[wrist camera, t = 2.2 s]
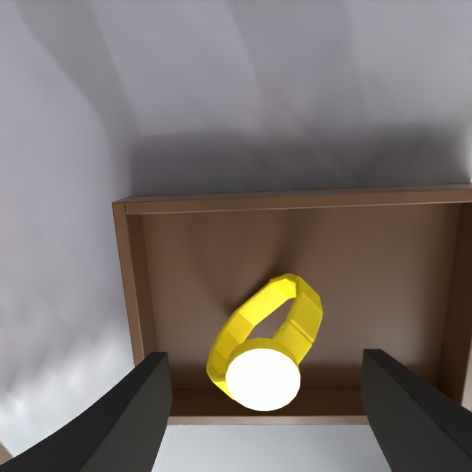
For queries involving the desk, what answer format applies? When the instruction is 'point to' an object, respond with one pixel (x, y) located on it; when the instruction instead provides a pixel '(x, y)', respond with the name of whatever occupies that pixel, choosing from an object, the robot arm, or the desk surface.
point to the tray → (316, 276)
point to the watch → (266, 346)
